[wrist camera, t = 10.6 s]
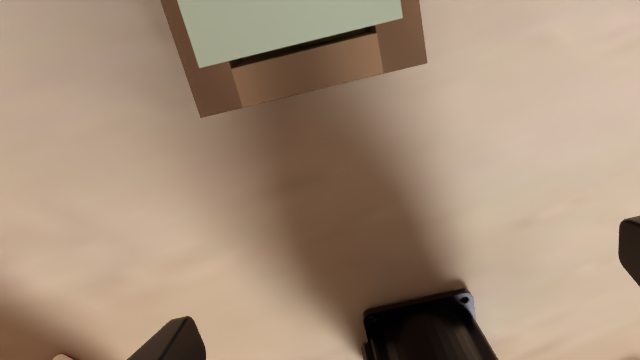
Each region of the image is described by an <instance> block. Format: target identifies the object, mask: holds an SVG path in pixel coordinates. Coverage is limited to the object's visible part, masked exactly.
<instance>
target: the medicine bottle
mask: <svg viewBox="0 0 640 360" xmlns="http://www.w3.org/2000/svg"><path fill="white" fill-rule="evenodd" d="M53 360H73V359H71V358H70V357H68V356H66V355H63V354H59V355H57V356H56V357H54V358H53Z"/></svg>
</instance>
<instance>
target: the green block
mask: <svg viewBox="0 0 640 360" xmlns="http://www.w3.org/2000/svg"><path fill="white" fill-rule="evenodd" d="M177 2H178V5H179V8H180V11H181V14H182V17H183V20H184V23H185V26H186V29H187V32H188V35H189V38H190V41H191V44H192V47H193V50H194V53H195V56H196V60H197V63H198V66H199V68H202V67H206V66H210V65H214V64H218V63H223V62H227V61H231V60H235V59H239V58H243V57H247V56H251V55H255V54H259V53H263V52H267V51H271V50H275V49H279V48H283V47H288V46H292V45H296V44H300V43H304V42H308V41H312V40H316V39H320V38H324V37H328V36H332V35H336V34H340V33H344V32H348V31H353V30H357V29H361V28H365V27H369V26H373V25H377V24H381V23H385V22H389V21H393V20H397V19H401V18H403V15H402V8H401V1H400V0H177Z"/></svg>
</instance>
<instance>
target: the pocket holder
mask: <svg viewBox="0 0 640 360" xmlns="http://www.w3.org/2000/svg"><path fill="white" fill-rule="evenodd" d="M400 1H401V8H402V15H403V18H401V19H397V20H393V21H389V22H385V23H381V24H377V25H373V26H369V27H365V28H361V29H357V30H353V31H348V32H344V33H340V34H336V35H332V36H328V37H324V38H320V39H316V40H312V41H308V42H304V43H300V44H296V45H292V46H288V47H283V48H279V49H275V50H271V51H267V52H263V53H259V54H255V55H251V56H247V57H243V58H239V59H235V60H231V61H227V62H223V63H218V64H214V65H210V66H206V67H202V68H199V66H198V63H197V60H196V56H195V53H194V50H193V47H192V44H191V41H190V38H189V35H188V32H187V29H186V26H185V23H184V20H183V17H182V14H181V11H180V8H179V5H178V2H177V0H161V3H162V6H163V9H164V12H165V15H166V18H167V21H168V24H169V26H170V29H171V32H172V35H173V38H174V41H175V44H176V47H177V50H178V53H179V56H180V59H181V62H182V64H183V67H184V70H185V73H186V76H187V79H188V82H189V85H190V88H191V91H192V94H193V97H194V100H195V102H196V105H197V108H198V111H199V114H200V117H201V118H202V117H206V116H210V115H214V114H219V113H223V112H227V111H231V110H235V109H239V108H243V107H247V106H252V105H256V104H260V103H264V102H268V101H272V100H276V99H281V98H285V97H289V96H293V95H297V94H301V93H305V92H309V91H314V90H318V89H322V88H326V87H330V86H334V85H338V84H343V83H347V82H351V81H355V80H359V79H363V78H367V77H371V76H376V75H380V74H384V73H388V72H392V71H396V70H400V69H405V68H409V67H413V66H417V65H421V64H425V63H427V57H426V50H425V42H424V35H423V27H422V19H421V12H420V4H419V0H400Z"/></svg>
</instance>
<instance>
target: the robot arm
mask: <svg viewBox="0 0 640 360" xmlns="http://www.w3.org/2000/svg"><path fill="white" fill-rule="evenodd" d="M618 254H619V259H620V262H621V264H622V266H623V267H624V268H625V269H626V271H627V272H628V273H629V274H630V275H631V277H632V278H633V279H634V280H635V281H636V283H637V284H638V285H639V286H640V216H636V217H632V218H628V219H624V220H623V221H622V222H621V223H620V226H619V250H618ZM462 297H466V298H465V299H463V300H461V298H462ZM370 317H374V318H373V319H369V318H370ZM363 322H364V326H365V330H366V334H367V339H368V342H367V343H364V344H363V345H362V347H361V348H362V354H363V359H364V360H498V358H497V357H496V355H495V353H494V352H493V350H492V348H491V346H490V345H489V343H488V341H487V340H486V338H485V336H484V334H483V333H482V331H481V329H480V328H479V326H478V324H477V323H476V318H475V309H474V301H473V296H472V295H471V293H470V292H469V291H468V290H466V289H460V290H455V291H450V292H446V293H441V294H437V295H432V296H427V297H423V298H418V299H414V300H409V301H404V302H400V303H395V304H391V305H386V306H382V307H377V308H372V309H368V310H366V311H365V312H364V313H363ZM127 360H206V350H205V346H204V343H203V341H202V338H201V336H200V334H199V331H198V329H197V326H196V324H195V322H194V320H193V319H192V318H191V317H189V316H186V317H181V318H177V319H172V320H170V321H169V322H168V323H167V324H166V325H165V326H164V327H162V328H161V329H160V330H159V331H158V332H157V333H156V334H155V335H154V336H153V337H151V338H150V339H149V340H148V341H147V342H146V343H145V344H144V345H143V346H142V347H140V348H139V349H138V350H137V351H136V352H135V353H134V354H133V355H132V356H131V357H129V358H128V359H127Z"/></svg>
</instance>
